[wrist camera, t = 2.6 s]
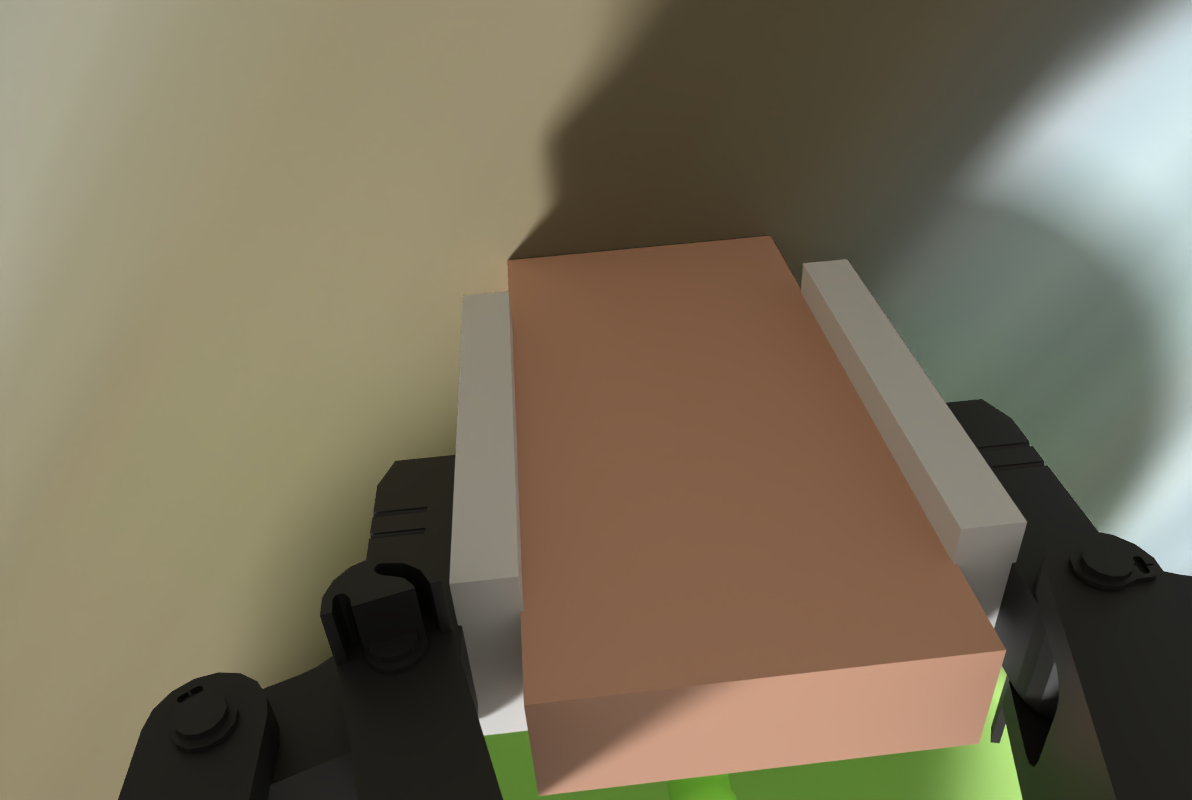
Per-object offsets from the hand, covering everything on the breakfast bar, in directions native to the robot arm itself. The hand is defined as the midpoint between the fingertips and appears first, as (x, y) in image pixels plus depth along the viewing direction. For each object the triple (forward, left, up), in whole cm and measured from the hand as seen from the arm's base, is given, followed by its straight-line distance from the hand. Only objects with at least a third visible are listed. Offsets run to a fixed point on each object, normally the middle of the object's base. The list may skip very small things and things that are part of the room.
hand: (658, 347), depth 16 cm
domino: (0, 0, -2) cm, 2 cm away
